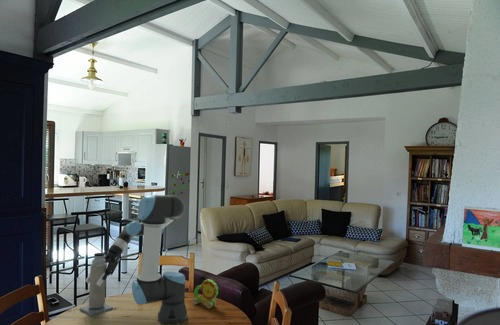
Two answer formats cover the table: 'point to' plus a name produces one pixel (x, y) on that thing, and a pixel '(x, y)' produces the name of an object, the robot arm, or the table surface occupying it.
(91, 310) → the gray square plate
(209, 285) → the toy lion
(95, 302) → the thermos bottle
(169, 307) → the robot arm
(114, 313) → the table surface
